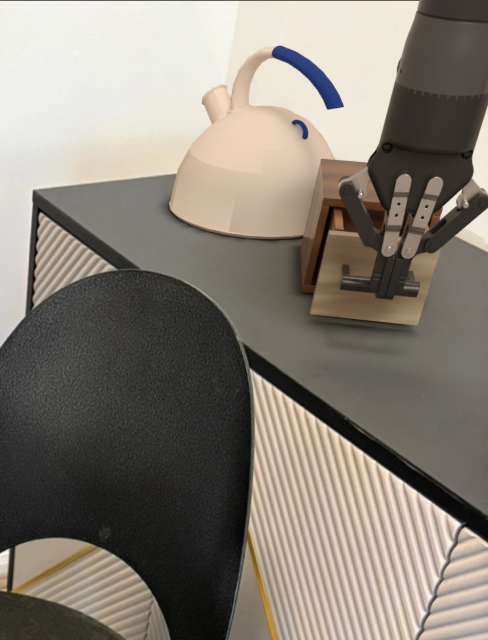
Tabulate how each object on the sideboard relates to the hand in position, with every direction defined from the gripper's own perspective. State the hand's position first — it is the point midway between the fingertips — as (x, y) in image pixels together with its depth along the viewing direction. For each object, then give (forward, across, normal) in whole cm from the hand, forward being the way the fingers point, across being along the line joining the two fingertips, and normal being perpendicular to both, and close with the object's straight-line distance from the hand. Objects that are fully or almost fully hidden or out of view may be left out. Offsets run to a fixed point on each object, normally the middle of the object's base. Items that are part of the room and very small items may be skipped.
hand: (383, 296), depth 101 cm
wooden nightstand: (+6, 0, +25) cm, 25 cm away
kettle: (+7, -12, +43) cm, 45 cm away
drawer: (+6, 0, +13) cm, 14 cm away
